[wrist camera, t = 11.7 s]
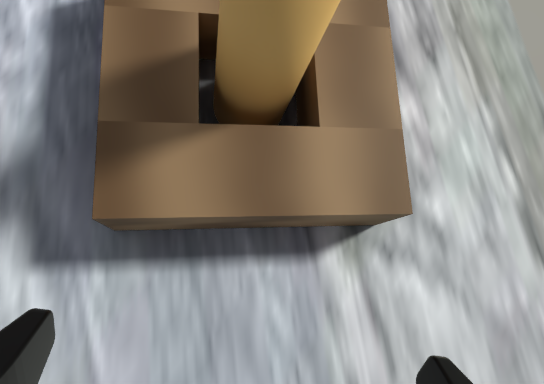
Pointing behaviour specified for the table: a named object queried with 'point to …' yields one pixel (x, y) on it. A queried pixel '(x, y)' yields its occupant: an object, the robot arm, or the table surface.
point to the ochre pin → (264, 56)
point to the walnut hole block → (245, 128)
